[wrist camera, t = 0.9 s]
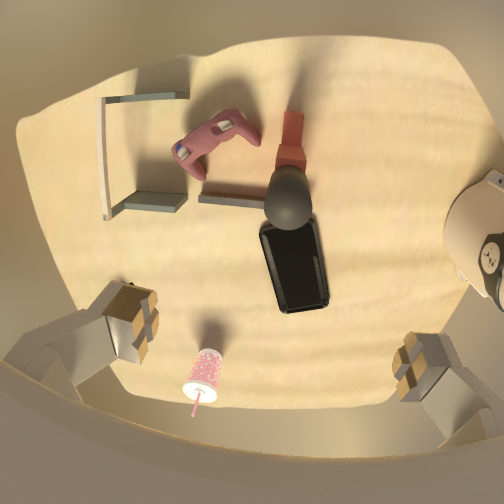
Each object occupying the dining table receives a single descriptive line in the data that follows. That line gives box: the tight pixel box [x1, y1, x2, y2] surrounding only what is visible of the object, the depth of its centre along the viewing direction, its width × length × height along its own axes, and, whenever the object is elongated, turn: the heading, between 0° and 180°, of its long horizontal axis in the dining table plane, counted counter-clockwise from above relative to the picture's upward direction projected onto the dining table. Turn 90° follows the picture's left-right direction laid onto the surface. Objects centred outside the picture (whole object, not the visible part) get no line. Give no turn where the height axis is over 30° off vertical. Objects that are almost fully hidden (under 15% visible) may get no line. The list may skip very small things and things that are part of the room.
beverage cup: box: [183, 349, 222, 417], centre depth 48 cm, size 6×6×14 cm
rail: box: [198, 192, 265, 209], centre depth 37 cm, size 14×1×3 cm, turn 86°
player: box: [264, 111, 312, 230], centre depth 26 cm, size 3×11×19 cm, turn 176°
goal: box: [96, 92, 190, 221], centre depth 33 cm, size 8×15×9 cm, turn 176°
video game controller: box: [172, 109, 261, 181], centre depth 33 cm, size 10×5×7 cm, turn 123°
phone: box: [259, 218, 329, 314], centre depth 43 cm, size 8×1×15 cm
